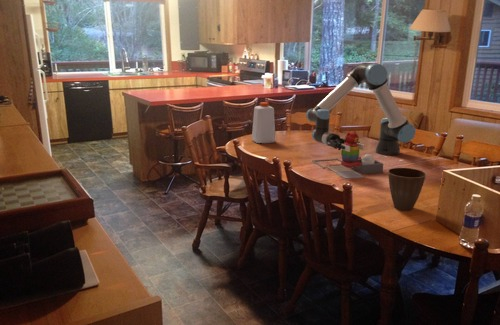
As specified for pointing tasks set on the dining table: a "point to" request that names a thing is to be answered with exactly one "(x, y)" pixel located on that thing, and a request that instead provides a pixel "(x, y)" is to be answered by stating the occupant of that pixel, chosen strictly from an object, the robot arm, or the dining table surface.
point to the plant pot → (405, 187)
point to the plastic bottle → (263, 124)
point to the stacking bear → (351, 151)
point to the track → (341, 170)
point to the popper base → (369, 167)
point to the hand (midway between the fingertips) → (356, 148)
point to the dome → (368, 159)
